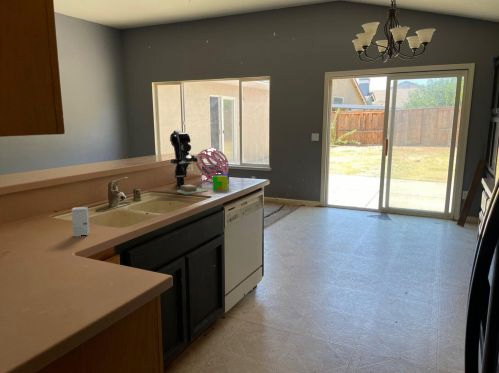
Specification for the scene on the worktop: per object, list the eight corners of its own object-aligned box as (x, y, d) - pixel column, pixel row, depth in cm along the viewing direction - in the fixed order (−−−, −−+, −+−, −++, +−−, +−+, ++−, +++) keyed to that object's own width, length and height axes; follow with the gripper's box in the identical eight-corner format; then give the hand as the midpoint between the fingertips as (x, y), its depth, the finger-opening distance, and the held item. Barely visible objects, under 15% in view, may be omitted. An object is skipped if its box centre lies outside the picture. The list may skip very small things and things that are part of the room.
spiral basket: (199, 160, 265) (220, 138, 279) (180, 166, 286) (200, 145, 300) (222, 188, 275) (241, 165, 290) (202, 192, 296) (220, 170, 311)
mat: (175, 191, 253) (175, 190, 252) (198, 188, 263) (198, 187, 263) (185, 194, 242) (185, 193, 242) (208, 191, 252) (208, 190, 252)
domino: (180, 185, 256) (187, 187, 248) (189, 184, 260) (196, 186, 252) (180, 189, 256) (187, 191, 248) (189, 188, 260) (196, 190, 252)
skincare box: (73, 237, 155) (70, 209, 153) (75, 233, 160) (72, 207, 158) (88, 235, 157) (85, 208, 155) (90, 232, 161) (88, 206, 159)
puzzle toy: (229, 187, 264) (228, 174, 262) (227, 190, 254) (226, 176, 252) (215, 187, 265) (215, 174, 263) (213, 190, 255) (212, 176, 253)
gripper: (177, 152, 245) (178, 175, 248) (201, 150, 256) (201, 172, 259) (169, 151, 254) (171, 173, 257) (193, 149, 265) (194, 170, 268)
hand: (184, 172), depth 260 cm, fingers closed
